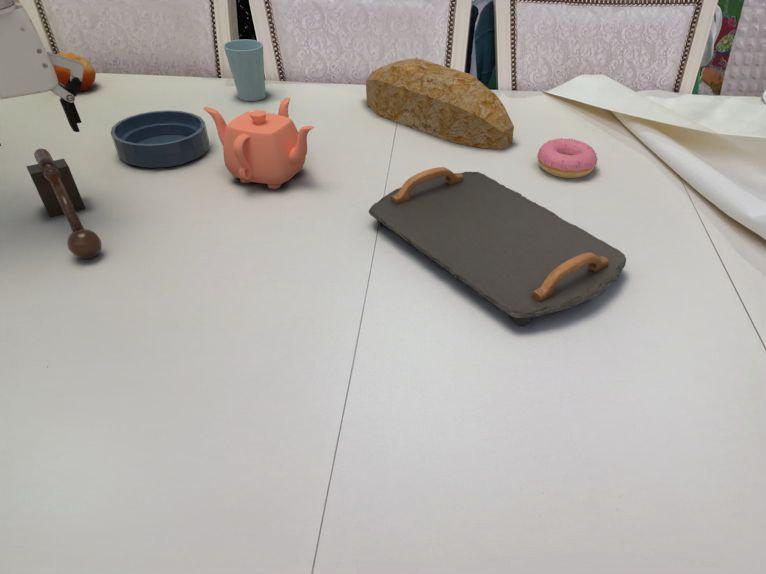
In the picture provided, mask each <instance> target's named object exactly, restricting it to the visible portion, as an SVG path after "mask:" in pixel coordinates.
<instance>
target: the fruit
mask: <svg viewBox="0 0 766 574" xmlns="http://www.w3.org/2000/svg"><path fill="white" fill-rule="evenodd" d="M56 54H57V55H60V56H63V57H67V58H70V59H73V60H77V61H79V62H81V63H82V64H83V66H84V73H83V79H82V86H81V88H80V90H79V91H78V92H88V91H89V90H90V89H91V88H92V86H93V84H94V83H95V81H96V77H97V76H96V75H97V74H96V71H95V69H94V67H93V66H92V64H91V63H90V62H89V61H88V60H87V59H86V58H84V57H82V56H80V55H77V54H74V53H72V52H65V53H63V52H57V53H56ZM53 67H54V70H55V73H56V75H57V79H58V82H59V83H61V84H62V85H64V86H65V85H66V83H67V82H68V80H69V78H70V75H71V70H69V69H66V68H62V67H59V66H55V65H53Z"/></svg>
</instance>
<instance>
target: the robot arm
mask: <svg viewBox="0 0 766 574" xmlns="http://www.w3.org/2000/svg"><path fill="white" fill-rule="evenodd" d="M53 65H55V66H59V67H62V68H66V69H69V70H71V75H70V78H69V80H68V82H67V83H66V85H65V86H64V85H62V84H61V83H59V82H58V79H57V75H56V73H55V70H54V67H53ZM83 73H84V66H83V64H82V63H81V62H79V61H77V60H73V59H70V58H67V57H63V56H60V55H57V53H53V52H50V51H48V50H46V47H45V45H44V43H43V41H42V39H41V36H40V35H39V33H38V30H37V29H36V27H35V24H34V23H33V20H32V19H31V18H30V15H29V13H28V12H27V11H26V9H25V8H24V6H23V5H22V3H19V2H16V1H15V0H0V100H5V99H12V98H13V99H14V98H19V97H24V96H30V95H36V94H42V93H48V92H52V93H53V94H55V95H57V96H58V97H59V99H58V100H59V102H60V104H61V107H62V110H63V112H64V114H65V117H66V119H67V122H68V125H69V126H70V128H71V130H72V131H73V132H75V133H79V132H80V128H79V126H78V124H81V123H83V122H82V120H81V117H80V115H79V112H78V109H77V107H76V104H75V101H76V97H77V95H78V93H79V92H80V91H79V90H80V88H81V86H82V79H83ZM0 147H2V144H1V143H0Z"/></svg>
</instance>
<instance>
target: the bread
mask: <svg viewBox="0 0 766 574" xmlns="http://www.w3.org/2000/svg"><path fill="white" fill-rule="evenodd" d="M365 93H366V105H367V107H368V108H369V109H370V110H371V111H373V112H374V113H375V114H376V115H378V116H379V117H381V118H384V119H387V120H389V121H392V122H395V123H397V124H400V125H403V126H405V127H408V128H411V129H414V130H417V131H419V132H423V133H425V134H428V135H431V136H434V137H435V138H439V139H442V140H444V141H447V142H450V143H453V144H458V145H464V146H469V147H475V148H481V149H490V150H491V149H492V150H500V151H501V150H503V149H505V148H507V147H509V146H511V145H512V144H513V139H514V129H515V125H514V123H513V121H512V119H511V117H510V115H509V113H508V111H507V109H506V107H505V104H504V103H503V102H502V101H501V99H500V97H499V96H498V95H497V94H496V93H495V92H494V91H492V90H491V89H490V88H488V86H486V85H485V84H484V83H482V82H481V81H480V80H479V79H478V78H477V77H476V76H474V75H473V74H471V73H468V72H465V71H461V70H459V69H454V68H451V67H449V66H445V65H442V64H438V63H434V62H431V61H428V60H424V59H422V58H418V57H414V58H409V59H403V60H398V61H394V62H391V63H389V64H386V65H382V66H381V67H379V68H376V69H375V70H373V71H371V73H370V74H369V75H368V77H367V78H366V80H365Z"/></svg>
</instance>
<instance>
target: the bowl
mask: <svg viewBox="0 0 766 574" xmlns="http://www.w3.org/2000/svg"><path fill="white" fill-rule="evenodd" d="M110 136H111V139H112V142H113V144H114V147H115V148H114V149H115V150H116V153H117V156H118V157H119V159H120V160H121V161H122V162H124V163H127V164H128V165H133V166H136V167H143V168H155V169H157V168H159V169H160V168H171V167H176V166H180V165H184V164H187V163H190V162H192V161H194V160H197V159H198V158H200V157H202V156H203V155H205V154H206V153H207V152H208V150H209V149H210V144H211V143H210V138H209V134H208V130H207V126H206V122H205V121H204V119H203V118H202V117H201V116H199V115H197V114H195V113H193V112H187V111H182V110H170V109H168V110H153V111H148V112H142V113H141V112H140V113H137V114H134V115H131V116H128V117H125V118H123V119H120V120H119V121H117V122H116V123H115V124H114V125H113V126H111V129H110Z"/></svg>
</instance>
